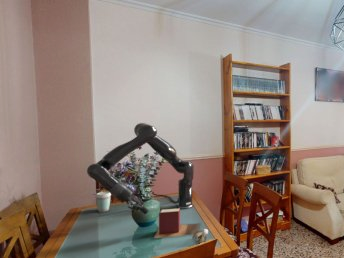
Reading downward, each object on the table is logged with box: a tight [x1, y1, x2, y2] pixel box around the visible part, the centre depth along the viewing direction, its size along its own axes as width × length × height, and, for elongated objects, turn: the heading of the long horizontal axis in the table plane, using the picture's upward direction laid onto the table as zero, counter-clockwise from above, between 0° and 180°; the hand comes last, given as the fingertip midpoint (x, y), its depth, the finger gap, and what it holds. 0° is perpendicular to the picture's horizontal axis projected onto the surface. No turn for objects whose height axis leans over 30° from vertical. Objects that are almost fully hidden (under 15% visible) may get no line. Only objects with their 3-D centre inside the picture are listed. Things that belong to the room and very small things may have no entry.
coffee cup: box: [95, 191, 112, 213], centre depth 172 cm, size 8×8×12 cm
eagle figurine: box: [191, 228, 209, 246], centre depth 132 cm, size 8×7×9 cm
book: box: [158, 207, 181, 234], centre depth 142 cm, size 10×5×12 cm, turn 106°
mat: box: [153, 223, 200, 239], centre depth 144 cm, size 22×14×1 cm, turn 106°
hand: (147, 212), depth 139 cm, fingers closed
